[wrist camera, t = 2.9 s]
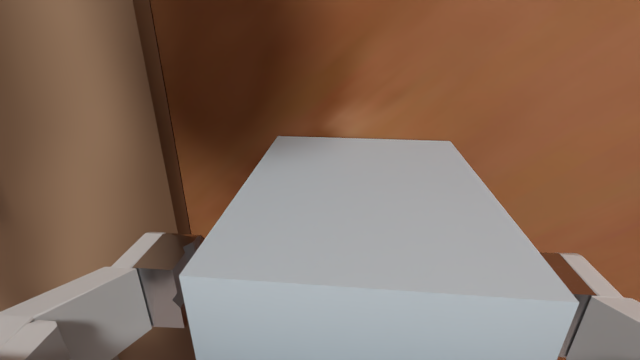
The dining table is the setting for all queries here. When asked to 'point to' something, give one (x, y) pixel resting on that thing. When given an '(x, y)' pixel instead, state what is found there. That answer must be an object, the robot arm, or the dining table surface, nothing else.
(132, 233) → the stand
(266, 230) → the white rectangular block
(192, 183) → the dining table surface
